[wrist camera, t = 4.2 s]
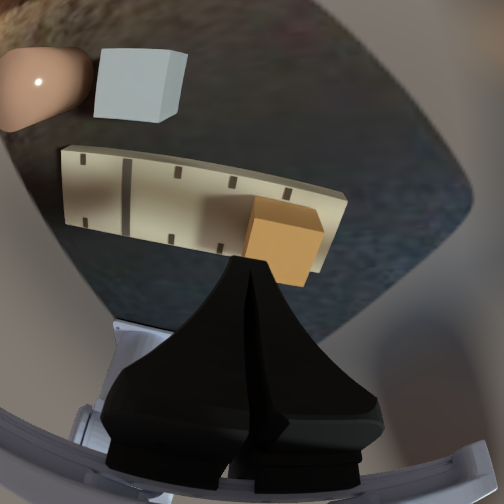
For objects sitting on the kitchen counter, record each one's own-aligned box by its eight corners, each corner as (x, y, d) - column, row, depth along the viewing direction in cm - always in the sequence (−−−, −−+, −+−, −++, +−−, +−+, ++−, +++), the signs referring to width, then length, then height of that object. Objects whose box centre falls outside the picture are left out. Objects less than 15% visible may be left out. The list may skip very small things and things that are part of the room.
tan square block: (298, 259, 21) (303, 286, 19) (242, 248, 21) (240, 275, 18) (316, 209, 19) (324, 232, 17) (255, 196, 19) (254, 217, 16)
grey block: (177, 112, 17) (158, 123, 14) (122, 107, 17) (93, 117, 14) (188, 54, 15) (170, 50, 12) (130, 51, 15) (102, 48, 12)
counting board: (316, 261, 23) (319, 273, 22) (74, 215, 21) (64, 224, 20) (342, 192, 20) (348, 201, 19) (71, 144, 18) (60, 150, 17)
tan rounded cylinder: (90, 112, 17) (39, 132, 12) (39, 111, 16) (-14, 132, 11) (98, 45, 14) (46, 42, 9) (45, 50, 14) (-10, 55, 9)
